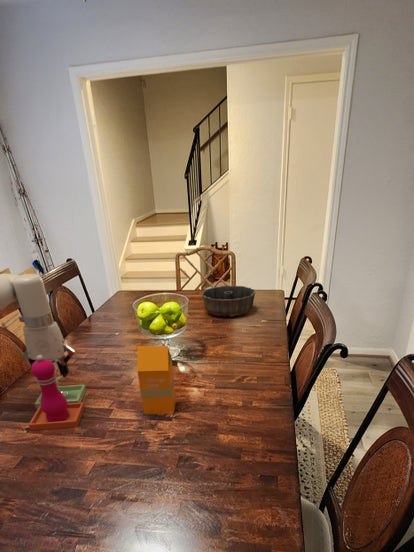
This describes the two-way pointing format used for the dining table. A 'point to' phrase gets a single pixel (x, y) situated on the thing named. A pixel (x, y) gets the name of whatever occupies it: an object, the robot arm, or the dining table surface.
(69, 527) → the dining table surface
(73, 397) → the sage tray
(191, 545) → the dining table surface
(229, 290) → the bundt pan
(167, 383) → the orange juice
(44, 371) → the pepper mill
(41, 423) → the terracotta tray
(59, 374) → the wineglass
